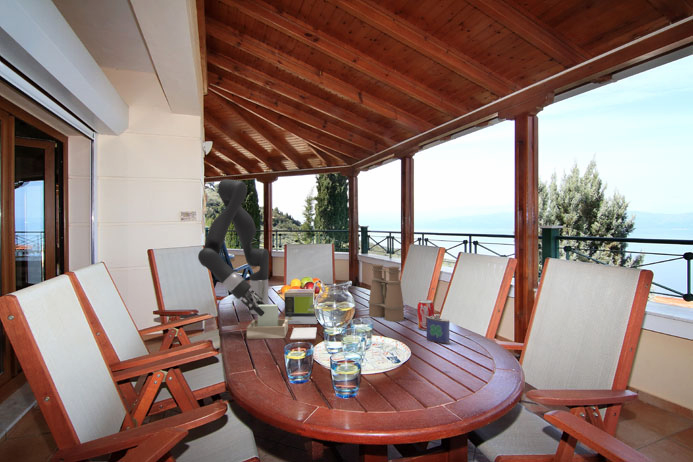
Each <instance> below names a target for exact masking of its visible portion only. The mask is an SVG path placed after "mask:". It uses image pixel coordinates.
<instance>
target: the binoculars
mask: <svg viewBox="0 0 693 462" xmlns="http://www.w3.org/2000/svg"><path fill="white" fill-rule="evenodd" d="M383 267H384V264H372V268H373V269H372V273H373V275H372V278H371V279H370V281H371V284H370V291H369V299H368V300H369V301H368V302H367V303H368V311H369V312H368V316H370V317H372V318H384V320H385V321H387V322H392V323H397V322H402V321H404V320H405V314H404V313H405V305H404V298H403V292H402V291H403V290H402V285H401V283H402V282H401V280H400V279H399V276H400V275H399V274H400V270H399V269H400V266H398V265H397V266H395V265H390V266H388V267H387V268H388V270H387V269H385V268H384V269H383ZM387 272H388V280H387V279H386V277H387Z"/></svg>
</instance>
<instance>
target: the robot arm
mask: <svg viewBox="0 0 693 462" xmlns="http://www.w3.org/2000/svg"><path fill="white" fill-rule="evenodd" d="M217 191H218V195H219V197H220V199H221V201H222V203H223V205H224V207H225V209H224V210H223V211H222V212H221V213H220V214H219V215H218V216H217V217H216V218H215V219H214V220H213V221H212V223H211V225H210V227H209V230H208V232H207V235H206V238H205V244H204V247H203V249H201V250H200V251H199V253H198V256H197V257H198V261H199V263H200V264H201V266H202V267H205V268H206V269H208V270H209V272H211V273H212V275H213V276H214V277H215V278H216V279H217V280H218V281H219V283H221V284H222V285H223V287H224V288H225V289H226V290H227V291H228V292H229V293H230V294H231V295H233V297H234V298H236V299H237V300H240V299H241V298H242V299H241V300H240V301H241V303H242V304H244V306H246V307H247V308H248V310H250V311H249V312H250V315H257V316H258V315H259V316H262V315H263V314H264V313H265V312H264V311H263V310H262V309H261V308H260V307H259V306H258V305H269V270H270V269H269V267H270V263H269V262H270V255H269V250H268V249H267V248H254V247H253V245H252V243H253V240H254V238H255V237H256V233H257V227H256V224H255V222H254V219H253V217H252V216H251V215H250V213H248V211H247V210H246V209H245V208H243V207H242V204H243V203H244V201H245V199H246V196H247V193H248V187H247V185H246V183H245V182H244V181H243V180H242V181H241V180H238V179H237V180H234V179H222V180H220V182H219V183H218V186H217ZM231 224H233V227H234V229H235V233H236V234H237V237H238V239H239V242H240V244H241V246H242V251H243V255H244V258H245V261H246V263H247V265H248V266H250V267H259V269H258V271H255V272H254V273H250V275H249V282H248V281H247V280H245V278H243V277H242V276H241V275H240V274H239V273H238V272H236V271H235V270H234V269H233V268H232V267H231V266H230V265H229V264H228V263H227V262H225V261H224V260H223V258H222V257H221V256H220V253H221V250H222V249H221V248H222V246H223V243H224V241H225V238H226V236H227V233H228V232H229V231H228V230H229V228H230V226H231Z"/></svg>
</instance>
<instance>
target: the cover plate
mask: <svg viewBox="0 0 693 462" xmlns="http://www.w3.org/2000/svg"><path fill="white" fill-rule="evenodd" d="M258 306H259V307H260V308H261V309H262V310H263V311H264V312H265V313H264V314H263V315H262V316H259V315H258V314H257V320H258V327H269V326H278V319H279V304H268V305H258Z"/></svg>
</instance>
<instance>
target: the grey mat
mask: <svg viewBox="0 0 693 462" xmlns="http://www.w3.org/2000/svg"><path fill="white" fill-rule="evenodd" d="M317 330H318V328H317V327H294V328H293V329H292V332H291V335H290V337H289V339H290V340H316V338H317V332H318V331H317Z"/></svg>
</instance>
